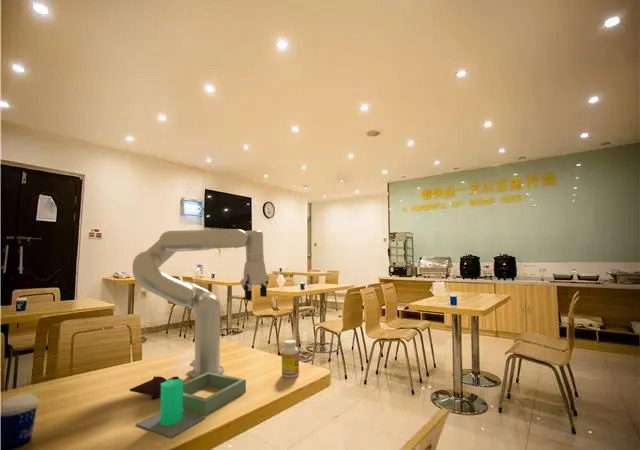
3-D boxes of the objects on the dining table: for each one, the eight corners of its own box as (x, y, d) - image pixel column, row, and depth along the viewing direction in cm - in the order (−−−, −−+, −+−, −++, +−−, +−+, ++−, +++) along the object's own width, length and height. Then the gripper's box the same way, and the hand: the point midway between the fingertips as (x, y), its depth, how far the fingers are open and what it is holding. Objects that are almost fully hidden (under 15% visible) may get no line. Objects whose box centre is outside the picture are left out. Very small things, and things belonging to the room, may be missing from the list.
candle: (187, 416, 95) (187, 374, 96) (171, 427, 89) (172, 381, 90) (171, 413, 97) (171, 372, 98) (154, 423, 91) (155, 379, 92)
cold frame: (165, 403, 104) (165, 390, 105) (208, 383, 120) (208, 371, 120) (205, 415, 96) (205, 401, 96) (245, 391, 112) (245, 379, 112)
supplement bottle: (296, 378, 122) (295, 343, 123) (279, 378, 123) (279, 343, 124) (301, 372, 128) (300, 339, 129) (285, 371, 130) (284, 338, 131)
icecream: (129, 386, 103) (180, 381, 110) (131, 373, 109) (179, 369, 116) (127, 407, 103) (178, 400, 110) (129, 392, 110) (177, 387, 117)
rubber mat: (136, 425, 91) (136, 423, 91) (170, 408, 101) (170, 407, 101) (171, 438, 84) (171, 436, 84) (204, 418, 94) (204, 417, 94)
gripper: (261, 258, 151) (262, 295, 149) (234, 259, 136) (235, 301, 134) (274, 257, 147) (275, 295, 146) (247, 259, 132) (248, 301, 131)
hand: (256, 298), depth 140 cm, fingers open, 9 cm apart
